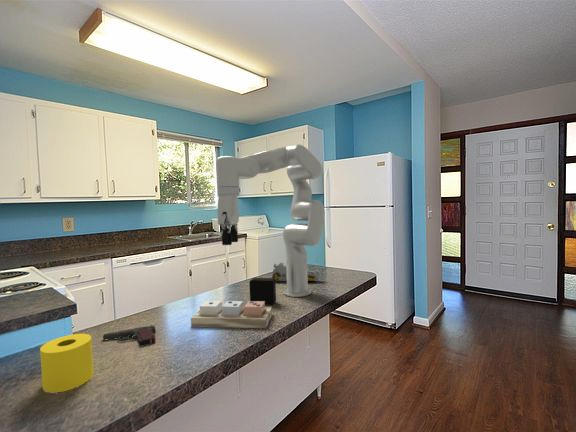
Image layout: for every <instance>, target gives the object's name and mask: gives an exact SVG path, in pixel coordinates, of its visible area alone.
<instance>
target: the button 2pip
mask: <svg viewBox="0 0 576 432" xmlns="http://www.w3.org/2000/svg"><path fill="white" fill-rule="evenodd" d="M243 306H244V301H243V300H227V301H225V303H223V304H222V316H239V315H240V314H241V312H242V311H243Z"/></svg>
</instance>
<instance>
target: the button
mask: <svg viewBox="0 0 576 432" xmlns="http://www.w3.org/2000/svg"><path fill="white" fill-rule="evenodd" d="M222 306H223V301H222V300H205V301H204V302H203V303H201V305H199V310H200V315H215V316H217V314H218V313H219V312H220V311H221V310H222Z"/></svg>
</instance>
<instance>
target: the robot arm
mask: <svg viewBox="0 0 576 432" xmlns="http://www.w3.org/2000/svg"><path fill="white" fill-rule="evenodd" d="M322 167H323V166H322V164H321V162H320V161H319V159H318V158H317V157H316V156H315V155H314V154H313V153H312V152H311V151H310V150H309V149H308V148H307V147H305V146H304V145H303V144H293V145H287V146H283V147H281V146H280V147H277V148H273V149H269V150H264V151H260V152H258V153H254V154H251V155H246V156H242V157H237V156H236V157H235V156H231V155H230V156H229V155H224V156H223V155H222V156H219V157H217V158H216V185H217V188H216V189H217V197H218V199H217V225H218V226H220V229H221V244H222V246H232V245H233V244H232V243H237V242H238V241H239V234H238V233H239V232H238V229H239V228H238V223H239V220H240V218H239V217H240V216H239V212H240V211H239V202H238V197H240V180H246V179H253V178H255V177H256V176H258V174H259V175H260V174H267V173H271V172H272V173H273V172H275V171H278V170H281V169H285V168H286V175H287V177H288V179H289V180H290V183H291V184H292V187H293V196H292V200H291V206H290V213H289V214H290V218H291V219H292V220H293V221H295V222H307V223H290V224H287V225H286V226H285V227H284V228H283V231H282V236H283V241H284V247H285V265H286V272H287V274H286V275H287V281H286V288H285V289H284V290H283V294H284V296H287V297H291V298H292V297H293V298H300V297H301V298H302V297H307V296H310V295H311V294H312V289H311V288H309V285H308V283H309V282H308V275H307V270H308V253H307V251H306V247H305V246H307V247H315V246H316V245H318V244H320V241H321V238H322V233H323V228H324V227H323V226H324V220H325V207H324V203H322V202H321V201H320V200H314V199H312V195H313V191H312V187H311V185H310V184H309V182H308V181H307V180H315V179H318V178H320V176H321V175H322V174H323V173H322V172H323V168H322Z"/></svg>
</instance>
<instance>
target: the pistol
mask: <svg viewBox="0 0 576 432" xmlns="http://www.w3.org/2000/svg"><path fill="white" fill-rule="evenodd" d="M156 332H157V331H156V326H155V325H153V324H149V325H144V326H139V327H136V328H135V327H134V328H128V329H124V330H118V331H112V332H109V333H104V334H103V336H102V339H103V341H104V340H105V339H112V340H113V339H114V340H116V339H115V338H118V339H117V341H118V342H126V341H131V340H133V341H135V340H137V341H138V347H143V346H147V344H148V345H151V344H155V343H156V339H157V338H156V335H155V333H156ZM132 336H133V337H132ZM123 337H126V338H123ZM134 339H135V340H134ZM105 341H106V340H105ZM142 345H143V346H142Z"/></svg>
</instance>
